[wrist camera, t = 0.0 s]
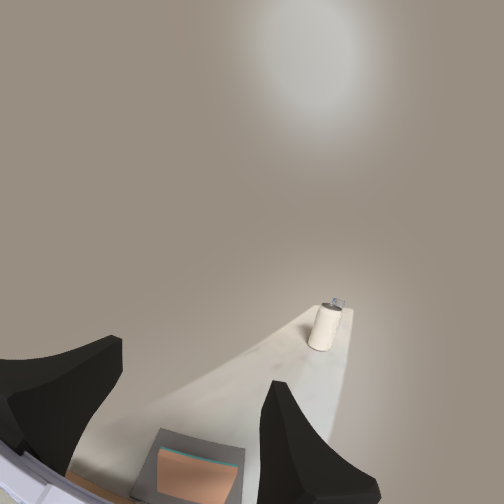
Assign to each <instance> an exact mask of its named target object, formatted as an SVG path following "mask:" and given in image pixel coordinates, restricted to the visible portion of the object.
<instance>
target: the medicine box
mask: <svg viewBox="0 0 504 504" xmlns="http://www.w3.org/2000/svg"><path fill="white" fill-rule="evenodd" d="M332 304H333V305H336V306H338V307H340V308H341V309H342V310H343V307H344V301H343V300H340V299H336V298H334V299H333V301H332ZM342 310H341V313H342Z"/></svg>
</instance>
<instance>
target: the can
mask: <svg viewBox="0 0 504 504" xmlns="http://www.w3.org/2000/svg"><path fill="white" fill-rule="evenodd" d="M341 310H342V309H341V308H340V307H338V306H336V305H333V304H330V303H322V306H321V307H320V308H319V310H318V313H317V316H316V319H315V322H314V325H313V328H312V331H311V334H310V337H309V340H308V345H309V346H310V347H311V348H312V349H314V350H317V351H321V352H326V351H328V350H329V349H330V347H331V344H332V342H333V339H334V336H335V333H336V331H337V328H338V325H339V322H340V319H341Z"/></svg>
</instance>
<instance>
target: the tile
mask: <svg viewBox="0 0 504 504" xmlns="http://www.w3.org/2000/svg"><path fill="white" fill-rule="evenodd" d="M237 470H238V465H234V464H229V463H223V462H218V461H214V460H209V459H205V458H201V457H196V456H193V455H189V454H185V453H181V452H178V451H175V450H171V449H168V448H165V447H162V446H161V448H160V450H159V453H158V457H157V492H160V493H163V494H166V495H170V496H173V497H177V498H181V499H184V500H188V501H193V502H197V503H201V504H224V503H225V500H226V498H227V496H228V494H229V492H230V489H231V487H232V485H233V483H234V480H235V478H236V476H237Z"/></svg>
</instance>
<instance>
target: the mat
mask: <svg viewBox="0 0 504 504" xmlns="http://www.w3.org/2000/svg"><path fill="white" fill-rule="evenodd" d="M161 446H162V447H165V448H168V449H171V450H175V451H178V452H181V453H185V454H189V455H193V456H196V457H201V458H205V459H209V460H214V461H218V462H223V463H229V464H234V465H238V470H237V476H236V478H235V480H234V483H233V485H232V487H231V489H230V492H229V494H228V496H227V498H226V500H225V503H224V504H241V502H242V488H243V474H244V460H245V449H243V448H238V447H232V446H227V445H222V444H217V443H213V442H209V441H204V440H200V439H196V438H193V437H189V436H185V435H182V434H178V433H175V432H172V431H168V430H165V429H162V428H160V430H159V433H158V435H157V437H156V439H155V441H154V444H153V446H152V448H151V450H150V452H149V454H148V457H147V459H146V461H145V463H144V465H143V468H142V470H141V472H140V474H139V476H138V479H137V481H136V483H135V485H134V487H133V490H132V492H131V494H130V497H131V498H134V499H137V500H139V501H142V502H145V503H148V504H201V503H197V502H193V501H188V500H184V499H181V498H177V497H173V496H170V495H166V494H163V493H160V492H157V457H158V453H159V450H160V448H161Z"/></svg>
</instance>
